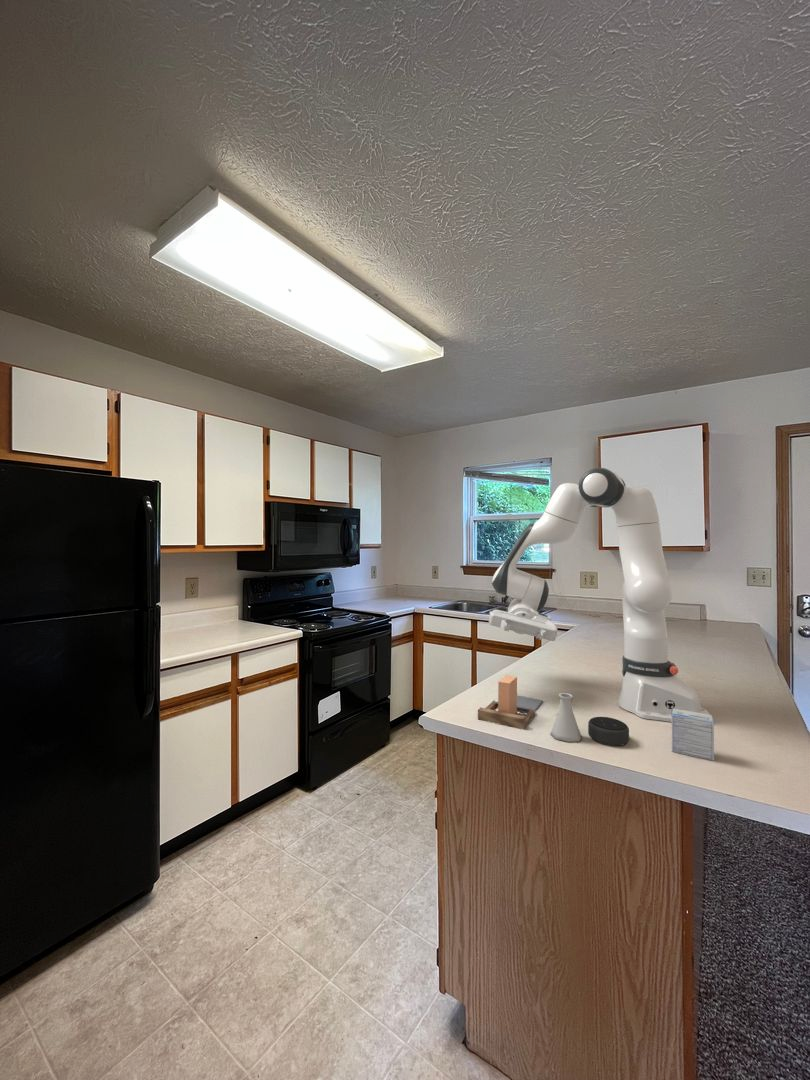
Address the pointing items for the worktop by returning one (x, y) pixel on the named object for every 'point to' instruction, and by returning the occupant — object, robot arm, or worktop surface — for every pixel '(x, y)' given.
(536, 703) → the mat
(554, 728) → the flask
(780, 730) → the worktop surface
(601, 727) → the smart speaker
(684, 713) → the medicine box
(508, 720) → the wooden square frame
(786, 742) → the worktop surface
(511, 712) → the orange rectangular block
